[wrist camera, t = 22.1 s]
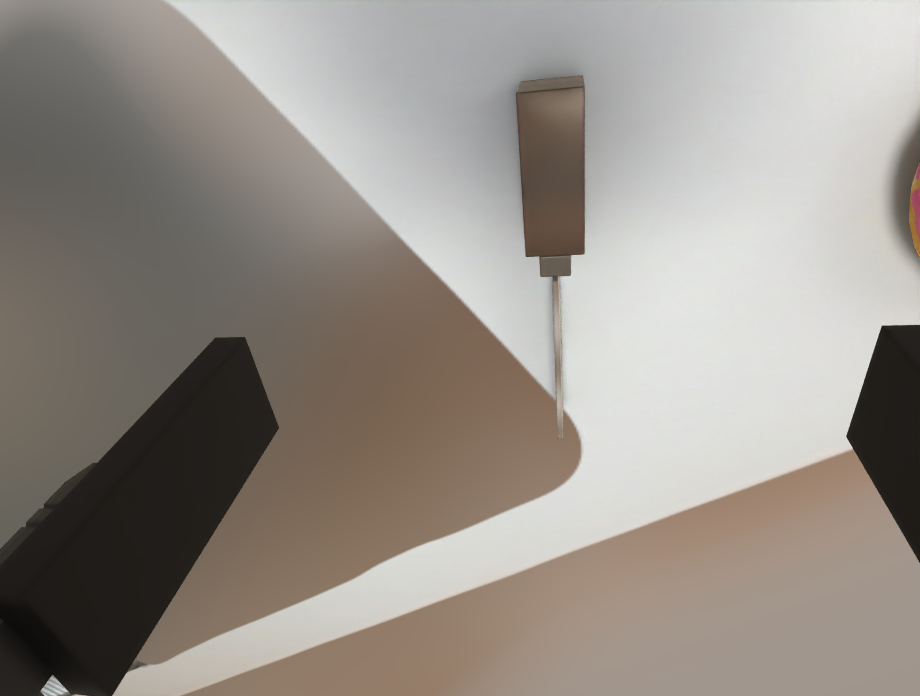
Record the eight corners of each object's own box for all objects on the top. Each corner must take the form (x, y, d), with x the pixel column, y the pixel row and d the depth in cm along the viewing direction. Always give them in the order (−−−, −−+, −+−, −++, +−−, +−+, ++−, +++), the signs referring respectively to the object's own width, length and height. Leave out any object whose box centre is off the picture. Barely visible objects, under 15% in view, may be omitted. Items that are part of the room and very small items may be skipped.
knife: (520, 81, 28) (514, 94, 25) (583, 74, 28) (584, 87, 25) (538, 404, 39) (536, 439, 36) (583, 404, 39) (584, 440, 36)
